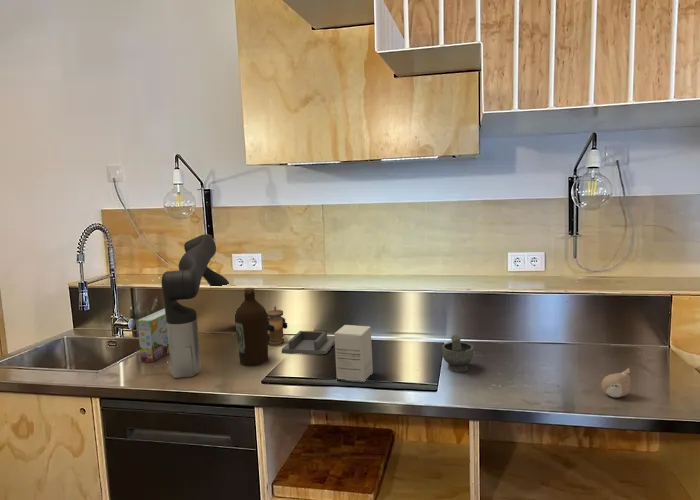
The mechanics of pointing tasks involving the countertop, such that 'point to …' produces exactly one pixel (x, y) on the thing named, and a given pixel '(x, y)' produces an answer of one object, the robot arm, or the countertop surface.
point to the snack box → (153, 336)
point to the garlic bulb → (617, 384)
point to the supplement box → (353, 352)
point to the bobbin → (276, 327)
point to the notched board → (309, 343)
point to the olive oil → (251, 330)
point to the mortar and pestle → (457, 354)
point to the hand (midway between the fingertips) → (279, 327)
